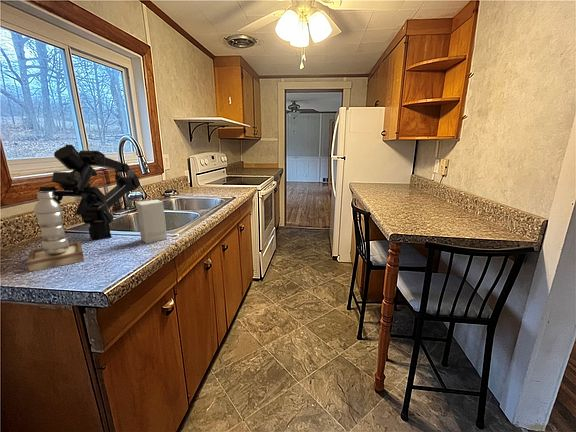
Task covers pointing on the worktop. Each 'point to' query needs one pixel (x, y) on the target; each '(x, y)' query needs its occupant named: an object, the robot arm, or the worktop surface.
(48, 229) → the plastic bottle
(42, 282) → the worktop surface
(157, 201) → the skincare box
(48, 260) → the stand
